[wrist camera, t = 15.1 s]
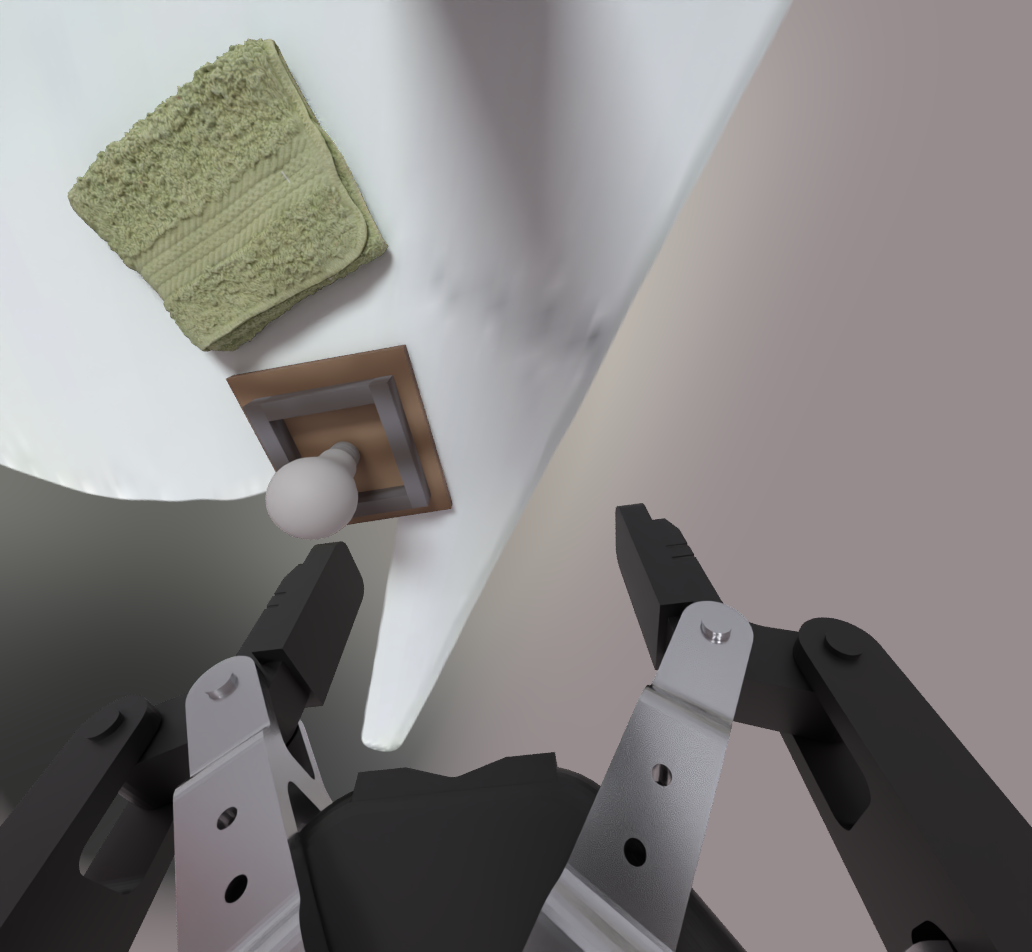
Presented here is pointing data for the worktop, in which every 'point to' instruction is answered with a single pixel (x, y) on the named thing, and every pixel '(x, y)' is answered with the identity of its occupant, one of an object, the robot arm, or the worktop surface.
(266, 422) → the socket stand
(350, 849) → the robot arm
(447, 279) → the worktop surface
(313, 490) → the lightbulb
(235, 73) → the washcloth
